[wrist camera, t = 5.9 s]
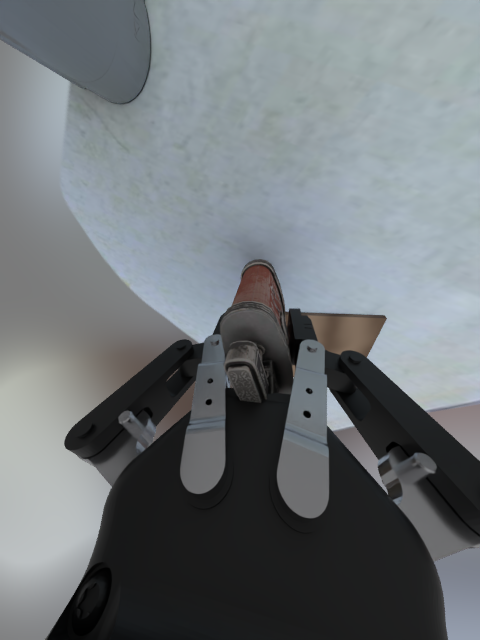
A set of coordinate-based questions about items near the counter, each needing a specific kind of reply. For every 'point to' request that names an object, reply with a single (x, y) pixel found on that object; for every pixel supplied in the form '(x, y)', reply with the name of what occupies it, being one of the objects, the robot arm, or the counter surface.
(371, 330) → the board
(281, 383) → the lighter
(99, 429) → the robot arm
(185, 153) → the counter surface
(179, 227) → the counter surface
